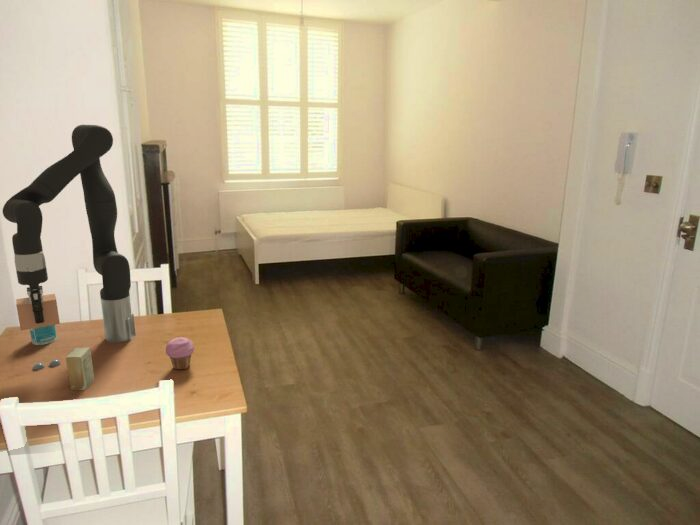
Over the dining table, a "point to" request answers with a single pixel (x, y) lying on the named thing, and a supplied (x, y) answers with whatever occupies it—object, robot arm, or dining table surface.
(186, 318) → the dining table surface
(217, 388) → the dining table surface
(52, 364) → the marble
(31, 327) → the tan wooden block
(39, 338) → the pill bottle
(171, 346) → the cupcake
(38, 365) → the marble
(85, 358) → the skincare box
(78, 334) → the dining table surface
